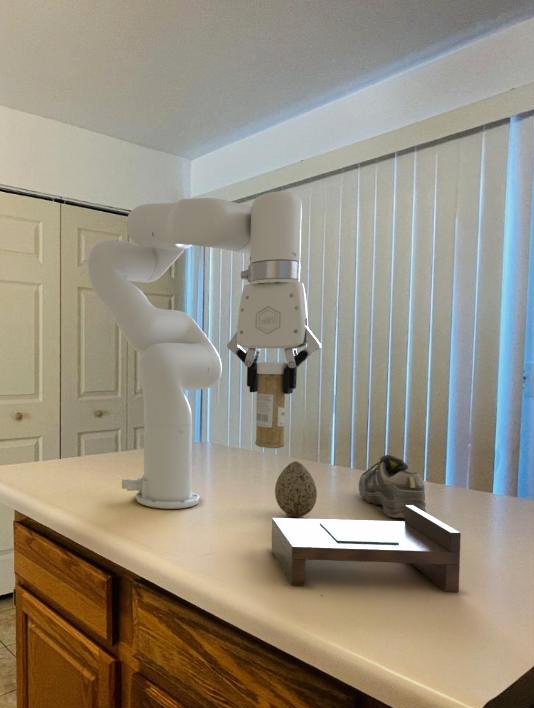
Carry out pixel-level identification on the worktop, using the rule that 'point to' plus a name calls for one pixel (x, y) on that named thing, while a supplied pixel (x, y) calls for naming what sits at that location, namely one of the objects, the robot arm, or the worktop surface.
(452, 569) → the shelf
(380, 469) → the hiking shoe
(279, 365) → the sprinkles bottle
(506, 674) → the worktop surface
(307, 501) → the decorative egg
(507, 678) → the worktop surface
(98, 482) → the worktop surface
